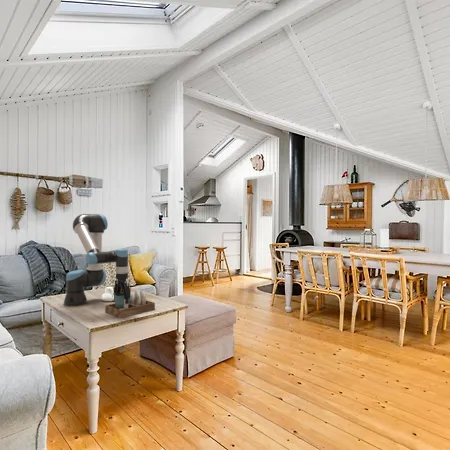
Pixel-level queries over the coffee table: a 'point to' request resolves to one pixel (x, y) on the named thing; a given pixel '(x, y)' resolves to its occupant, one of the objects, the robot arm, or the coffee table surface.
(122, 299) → the flower pot
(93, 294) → the coffee table surface
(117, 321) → the coffee table surface
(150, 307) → the tray
